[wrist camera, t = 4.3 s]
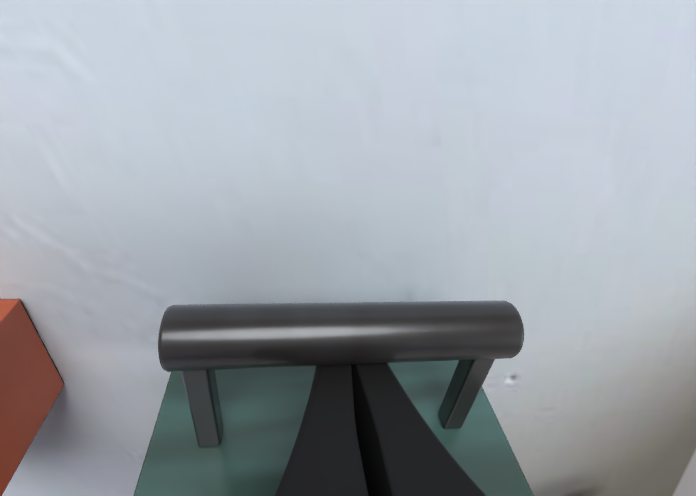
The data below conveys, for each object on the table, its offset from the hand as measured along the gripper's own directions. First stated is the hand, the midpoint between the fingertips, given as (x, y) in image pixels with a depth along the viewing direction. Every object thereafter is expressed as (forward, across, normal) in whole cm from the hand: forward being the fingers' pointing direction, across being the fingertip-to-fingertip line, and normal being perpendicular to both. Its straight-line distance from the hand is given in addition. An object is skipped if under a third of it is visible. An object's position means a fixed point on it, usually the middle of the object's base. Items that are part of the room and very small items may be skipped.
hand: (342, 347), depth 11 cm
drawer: (+2, 0, +6) cm, 6 cm away
